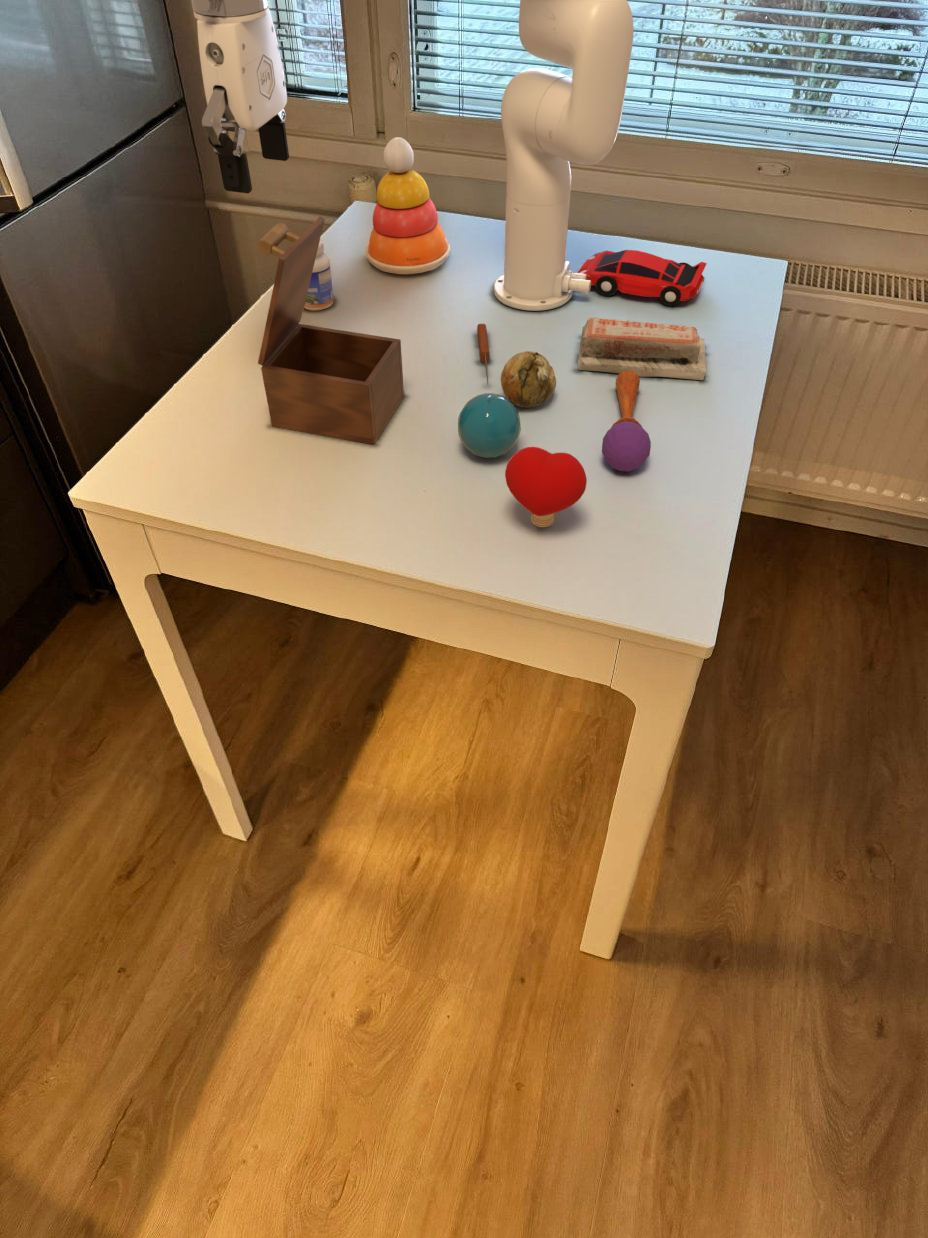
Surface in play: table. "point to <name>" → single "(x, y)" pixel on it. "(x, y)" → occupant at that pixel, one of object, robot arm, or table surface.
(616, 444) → the purple maraca
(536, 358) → the cracked brown sphere
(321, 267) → the pill bottle
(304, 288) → the lid
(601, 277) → the toy car
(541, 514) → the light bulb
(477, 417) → the ball
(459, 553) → the table surface
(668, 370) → the packaged product
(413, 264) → the stacking toy
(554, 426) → the table surface
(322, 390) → the chest
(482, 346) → the brown screwdriver
